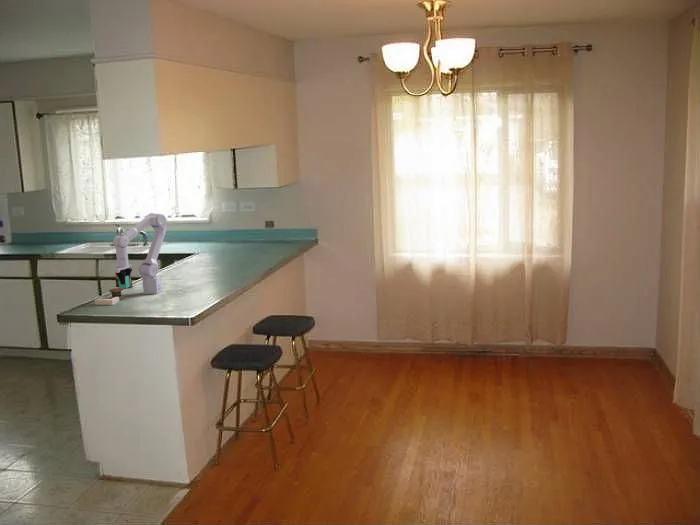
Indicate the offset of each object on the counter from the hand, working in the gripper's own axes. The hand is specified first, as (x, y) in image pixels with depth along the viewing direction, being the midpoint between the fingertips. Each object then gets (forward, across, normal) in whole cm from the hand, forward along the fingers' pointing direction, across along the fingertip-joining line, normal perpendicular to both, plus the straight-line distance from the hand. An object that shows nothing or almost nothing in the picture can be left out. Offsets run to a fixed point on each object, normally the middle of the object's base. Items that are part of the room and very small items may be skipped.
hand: (125, 283), depth 369 cm
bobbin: (+8, 0, -6) cm, 10 cm away
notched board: (+8, +10, -6) cm, 14 cm away
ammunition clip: (+9, -26, -15) cm, 31 cm away
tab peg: (+2, 0, 0) cm, 2 cm away
